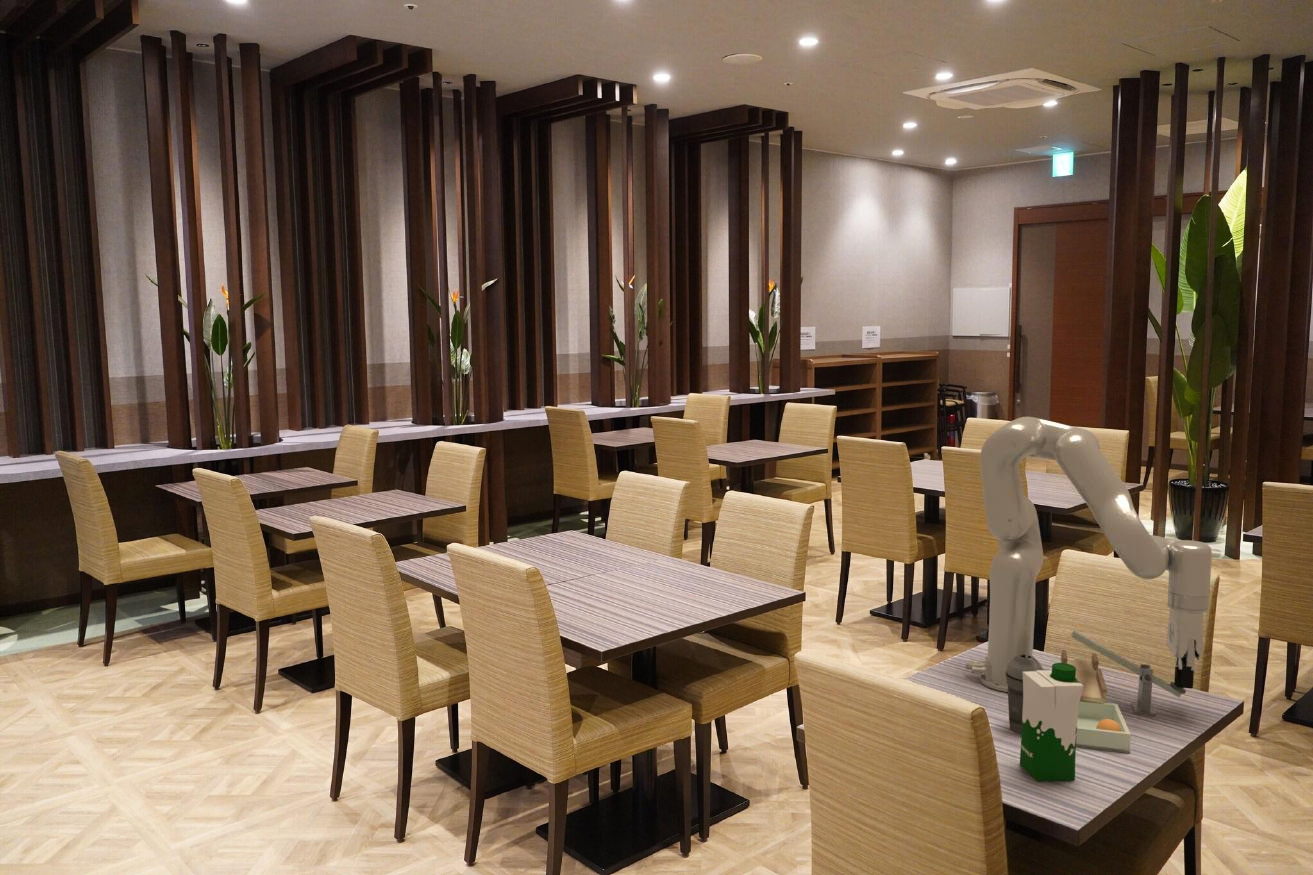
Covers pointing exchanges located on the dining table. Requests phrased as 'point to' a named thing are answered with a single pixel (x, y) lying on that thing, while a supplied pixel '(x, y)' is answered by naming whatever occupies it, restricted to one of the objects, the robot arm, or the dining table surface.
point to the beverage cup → (1018, 686)
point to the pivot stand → (1144, 693)
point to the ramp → (1088, 678)
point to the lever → (1127, 664)
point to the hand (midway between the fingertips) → (1183, 686)
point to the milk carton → (1050, 723)
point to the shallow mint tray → (1101, 738)
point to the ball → (1108, 725)
